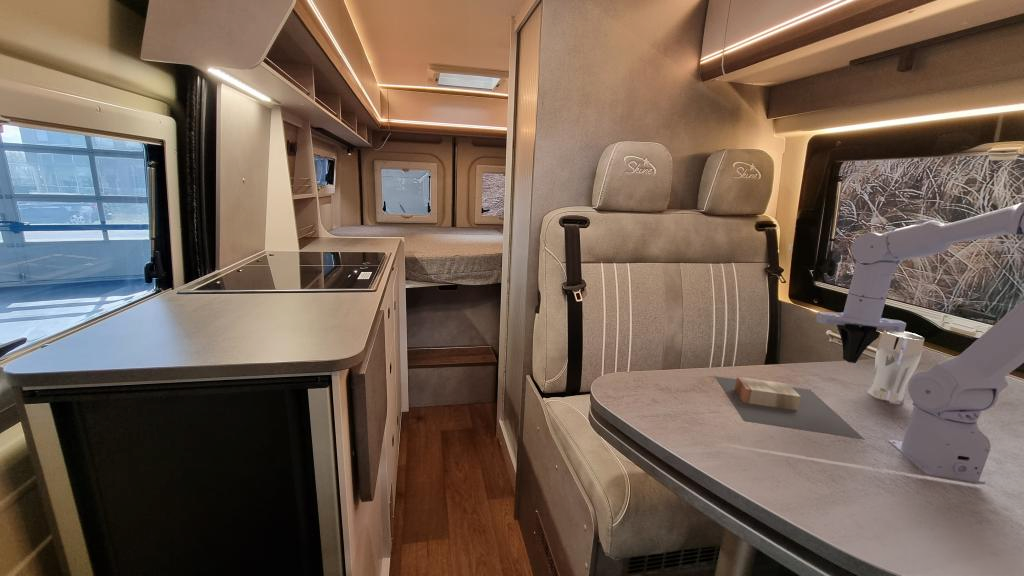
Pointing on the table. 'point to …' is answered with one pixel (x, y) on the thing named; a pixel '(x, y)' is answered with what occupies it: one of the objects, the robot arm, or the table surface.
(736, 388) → the birch block
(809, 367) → the table surface
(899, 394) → the beer glass
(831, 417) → the rubber mat
